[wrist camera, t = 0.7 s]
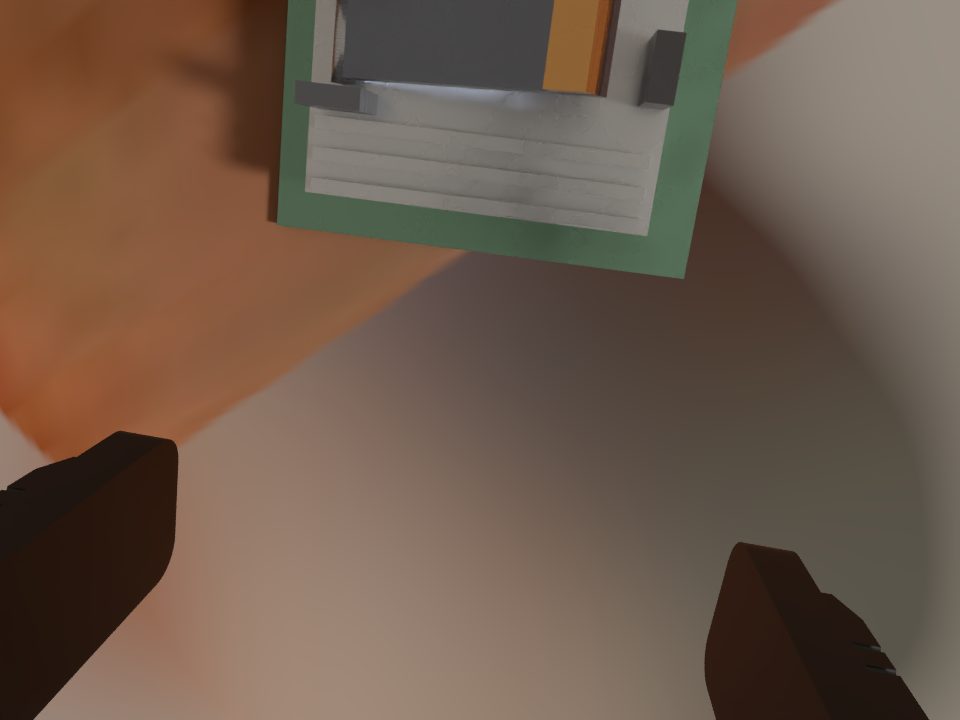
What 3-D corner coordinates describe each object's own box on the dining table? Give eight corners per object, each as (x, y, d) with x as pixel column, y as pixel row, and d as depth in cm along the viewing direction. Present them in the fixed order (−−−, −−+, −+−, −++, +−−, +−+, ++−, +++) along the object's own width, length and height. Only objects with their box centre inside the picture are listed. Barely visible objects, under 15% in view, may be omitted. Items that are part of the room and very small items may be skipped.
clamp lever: (344, 85, 30) (315, 79, 29) (350, -9, 29) (321, -19, 28) (606, 105, 24) (584, 98, 23) (624, -13, 23) (603, -26, 22)
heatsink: (300, -158, 32) (229, -249, 25) (755, -111, 31) (816, -192, 24) (281, 224, 36) (215, 239, 29) (681, 277, 35) (714, 306, 28)
